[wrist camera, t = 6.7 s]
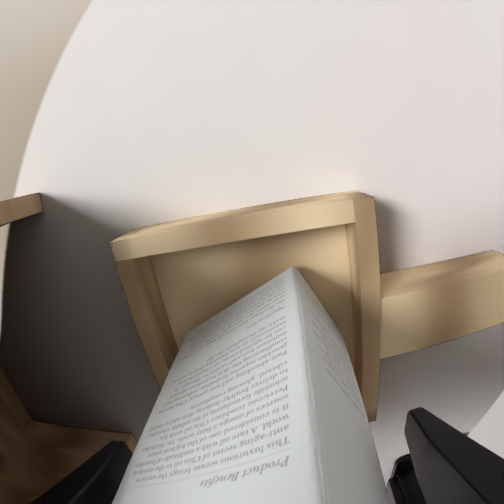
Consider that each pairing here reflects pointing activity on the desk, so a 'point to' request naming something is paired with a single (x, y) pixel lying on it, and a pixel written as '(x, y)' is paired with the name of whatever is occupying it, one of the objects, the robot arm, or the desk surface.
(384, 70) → the desk surface
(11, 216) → the wooden open box
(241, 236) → the wooden tray with handle
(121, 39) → the desk surface
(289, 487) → the skincare box
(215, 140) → the desk surface
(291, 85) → the desk surface
